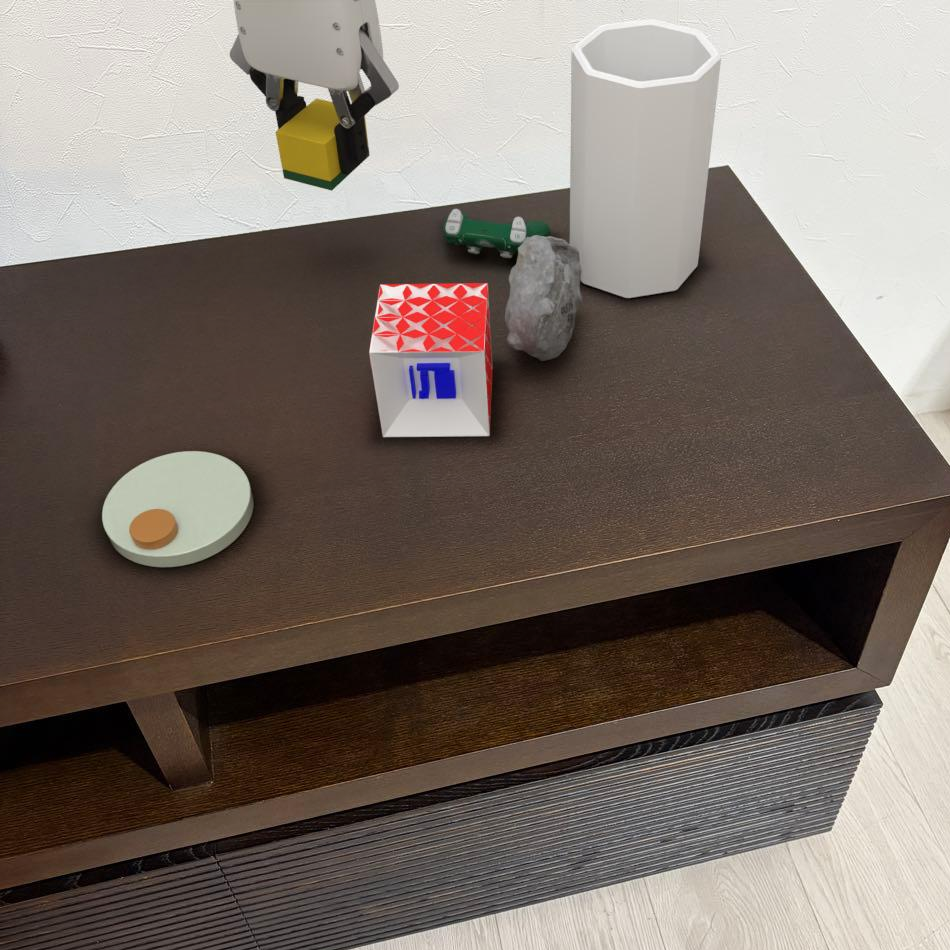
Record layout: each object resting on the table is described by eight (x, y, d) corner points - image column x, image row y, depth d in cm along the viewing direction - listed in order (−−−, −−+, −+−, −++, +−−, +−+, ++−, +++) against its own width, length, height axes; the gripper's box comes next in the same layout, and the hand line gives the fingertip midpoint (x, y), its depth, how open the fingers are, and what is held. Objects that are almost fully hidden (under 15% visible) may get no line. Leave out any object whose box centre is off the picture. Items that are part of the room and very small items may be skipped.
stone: (598, 382, 85) (602, 273, 77) (511, 391, 84) (507, 282, 77) (579, 310, 91) (581, 202, 83) (497, 318, 90) (492, 210, 83)
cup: (700, 230, 99) (724, 21, 85) (694, 305, 91) (718, 89, 77) (577, 222, 100) (580, 13, 86) (561, 294, 92) (562, 80, 79)
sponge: (331, 191, 87) (324, 144, 84) (283, 178, 88) (275, 131, 85) (369, 155, 91) (364, 109, 88) (323, 144, 92) (316, 98, 89)
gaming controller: (447, 255, 100) (429, 241, 94) (454, 212, 99) (436, 196, 93) (546, 268, 98) (534, 255, 92) (553, 225, 98) (541, 209, 92)
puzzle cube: (492, 367, 86) (488, 283, 80) (489, 436, 81) (484, 351, 75) (391, 368, 86) (378, 284, 80) (381, 437, 81) (367, 352, 75)
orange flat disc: (122, 541, 73) (119, 533, 72) (151, 511, 75) (147, 503, 74) (159, 555, 72) (156, 547, 71) (187, 524, 74) (184, 516, 73)
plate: (76, 540, 74) (70, 528, 74) (166, 447, 81) (162, 435, 80) (197, 586, 72) (192, 574, 71) (281, 486, 78) (278, 474, 77)
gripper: (423, -86, 75) (440, 160, 89) (218, -123, 80) (264, 117, 93) (368, -47, 71) (394, 205, 84) (154, -88, 75) (212, 158, 89)
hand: (325, 156), depth 89 cm, fingers closed on sponge, 4 cm apart
